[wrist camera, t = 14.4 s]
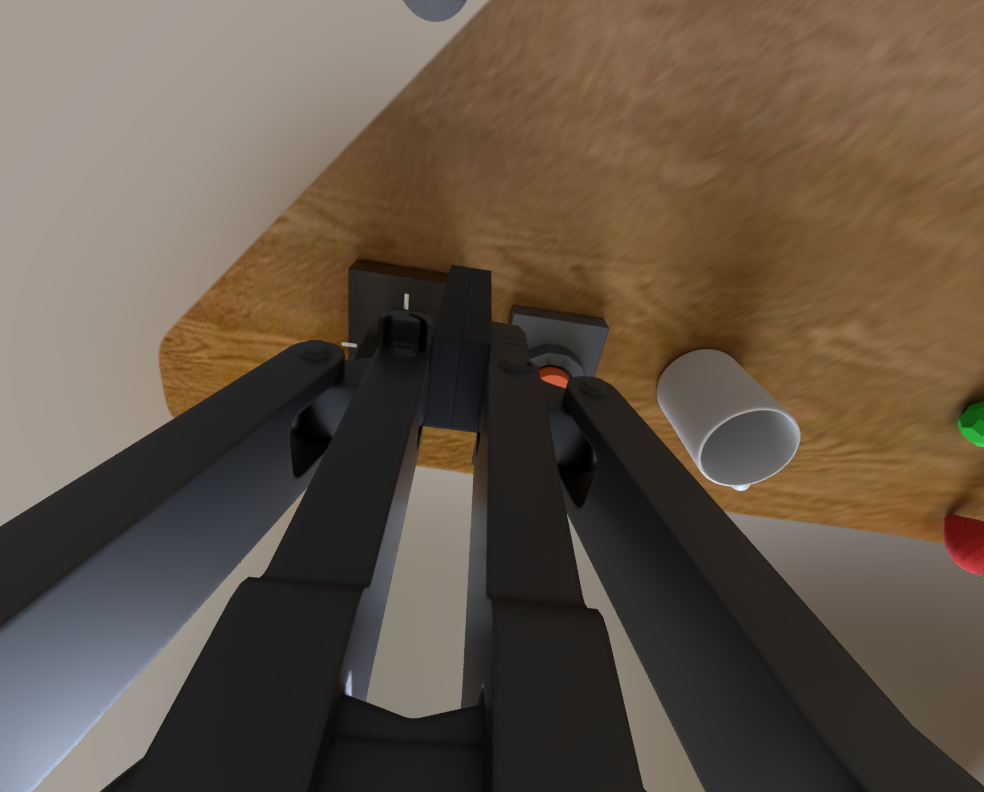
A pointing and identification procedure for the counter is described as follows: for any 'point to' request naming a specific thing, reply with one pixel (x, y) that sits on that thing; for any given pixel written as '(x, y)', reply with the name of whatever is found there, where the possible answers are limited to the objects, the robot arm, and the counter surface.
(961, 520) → the strawberry
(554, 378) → the button
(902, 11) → the counter surface
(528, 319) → the button box
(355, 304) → the panel
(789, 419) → the mug
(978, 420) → the polyhedron
